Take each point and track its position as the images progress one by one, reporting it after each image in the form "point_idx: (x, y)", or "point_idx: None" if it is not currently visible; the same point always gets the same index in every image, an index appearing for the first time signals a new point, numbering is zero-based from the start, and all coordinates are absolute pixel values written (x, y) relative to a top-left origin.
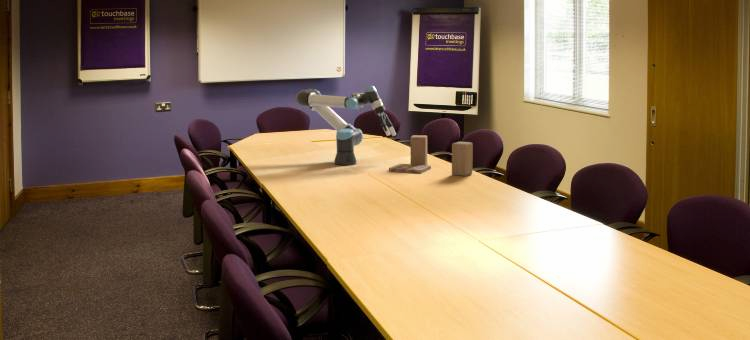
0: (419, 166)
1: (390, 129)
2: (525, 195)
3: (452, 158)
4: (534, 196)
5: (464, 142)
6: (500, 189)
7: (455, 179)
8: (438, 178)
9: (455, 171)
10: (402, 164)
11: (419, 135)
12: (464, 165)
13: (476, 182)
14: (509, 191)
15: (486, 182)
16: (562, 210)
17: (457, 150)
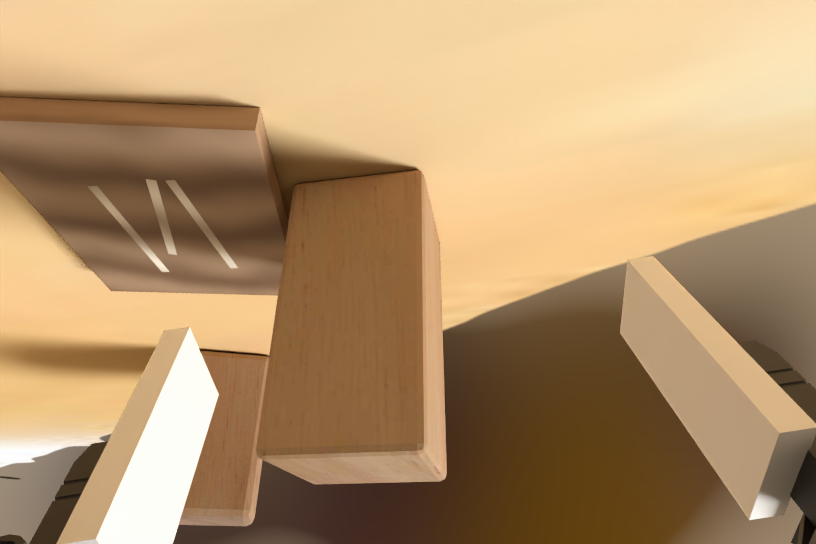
0: (228, 263)
1: (722, 399)
2: (78, 440)
3: None
4: (85, 445)
5: (224, 523)
6: (91, 421)
7: (118, 364)
8: (76, 333)
9: None
10: (227, 161)
11: (420, 469)
12: None
13: (129, 394)
14: (88, 428)
15: None
16: (16, 460)
17: None
